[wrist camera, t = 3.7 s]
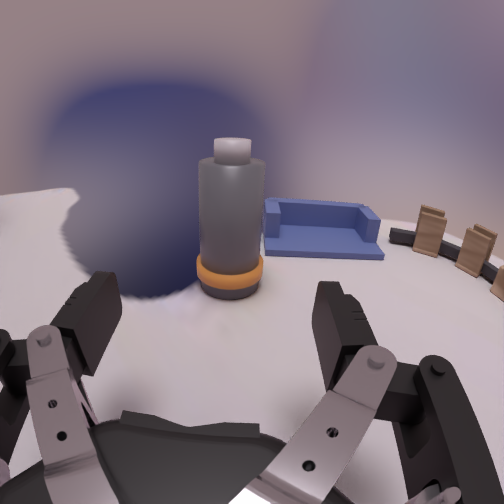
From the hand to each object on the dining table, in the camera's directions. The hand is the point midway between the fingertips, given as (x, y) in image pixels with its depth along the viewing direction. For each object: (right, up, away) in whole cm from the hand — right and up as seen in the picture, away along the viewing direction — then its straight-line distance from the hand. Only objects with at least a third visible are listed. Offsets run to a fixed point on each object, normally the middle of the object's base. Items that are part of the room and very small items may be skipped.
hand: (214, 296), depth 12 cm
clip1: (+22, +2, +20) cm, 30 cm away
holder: (+9, +3, +20) cm, 22 cm away
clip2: (+26, 0, +17) cm, 31 cm away
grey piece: (0, -1, +13) cm, 13 cm away
